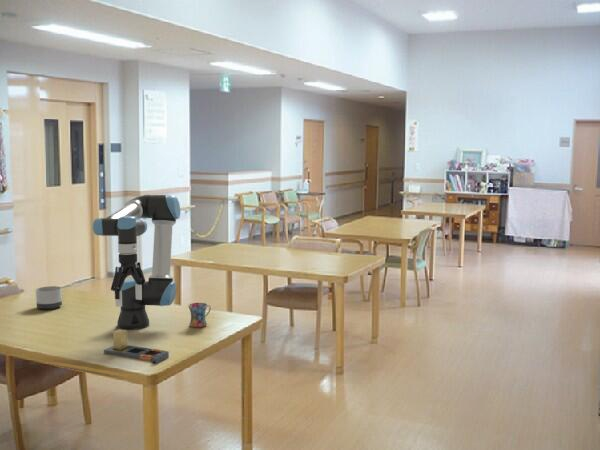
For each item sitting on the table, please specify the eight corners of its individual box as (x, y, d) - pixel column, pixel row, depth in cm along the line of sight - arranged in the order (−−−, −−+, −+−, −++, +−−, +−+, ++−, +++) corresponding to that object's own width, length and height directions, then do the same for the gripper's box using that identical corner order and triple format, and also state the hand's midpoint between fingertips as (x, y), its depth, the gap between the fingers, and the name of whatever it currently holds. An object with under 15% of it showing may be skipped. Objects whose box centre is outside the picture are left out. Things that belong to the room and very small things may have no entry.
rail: (103, 355, 264) (103, 349, 263) (118, 349, 272) (118, 343, 272) (155, 364, 254) (155, 357, 253) (168, 357, 262) (168, 351, 262)
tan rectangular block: (113, 352, 265) (113, 331, 264) (119, 349, 269) (119, 329, 267) (121, 353, 263) (120, 332, 262) (127, 350, 267) (126, 330, 266)
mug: (195, 329, 302) (194, 308, 300) (184, 325, 308) (184, 304, 307) (216, 325, 310) (215, 304, 308) (205, 321, 316) (205, 300, 315)
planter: (44, 304, 349) (43, 285, 348) (66, 305, 347) (65, 286, 346) (31, 310, 337) (31, 291, 335) (54, 311, 335) (53, 291, 334)
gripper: (116, 258, 251) (117, 310, 253) (152, 249, 274) (153, 297, 276) (100, 257, 253) (102, 308, 256) (138, 248, 276) (139, 295, 279)
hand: (129, 302), depth 266 cm, fingers open, 13 cm apart
